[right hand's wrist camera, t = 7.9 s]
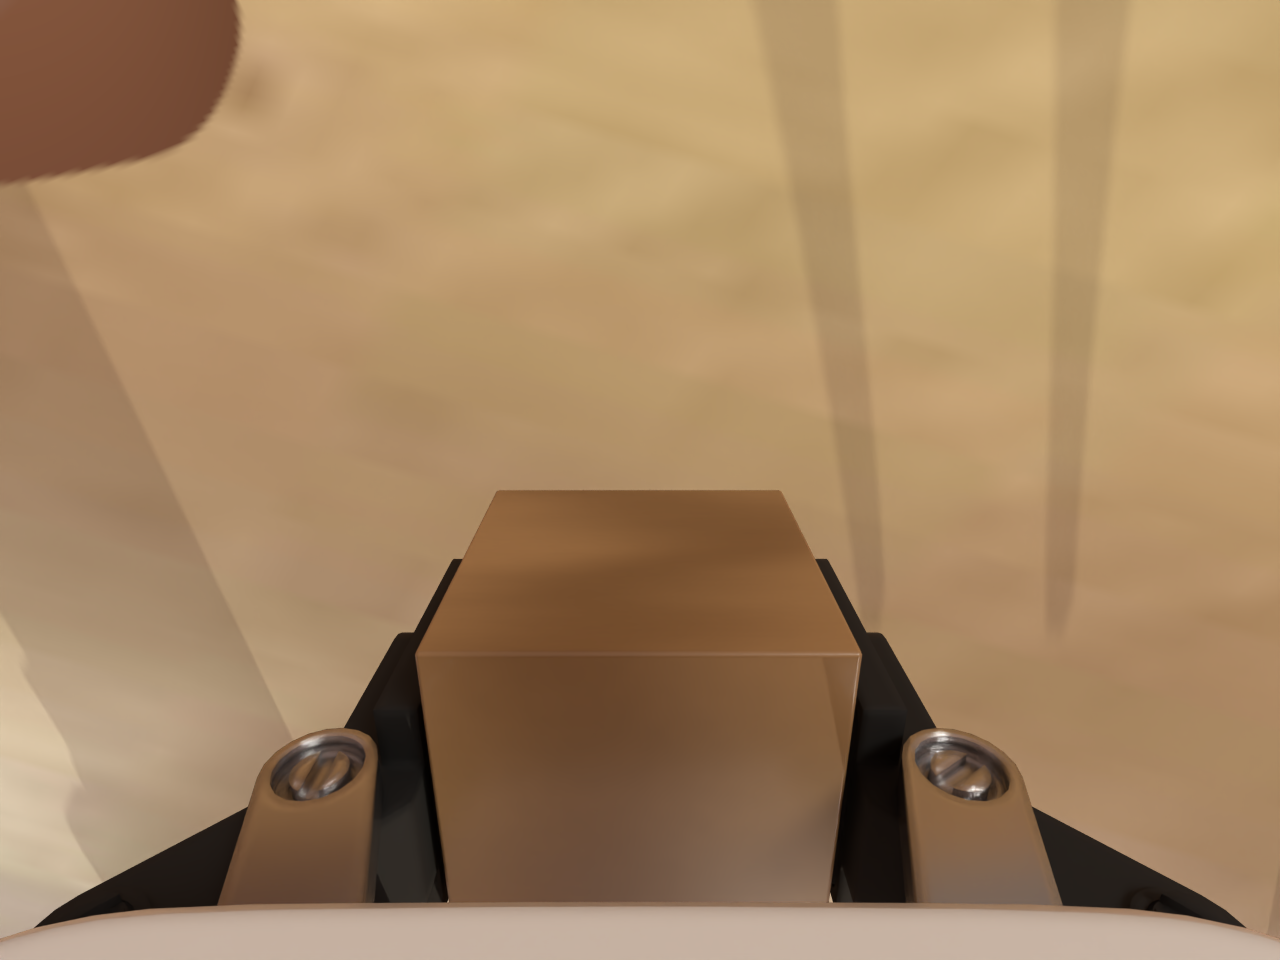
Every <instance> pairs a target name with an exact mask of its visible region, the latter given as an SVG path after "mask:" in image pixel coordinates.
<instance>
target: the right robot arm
mask: <svg viewBox="0 0 1280 960" xmlns="http://www.w3.org/2000/svg"><path fill="white" fill-rule="evenodd" d="M462 560H463V559H453V560H452V562H451V564H450V566H449V567H448V569H447V571H446V573H445V575H444V577H443V579H442V581H441V582H440V584H439V586H438V588H437V590H436V592H435V594H434V596H433V598H432V599H431V601H430V603H429V605H428V607H427V609H426V611H425V613H424V615H423V616H422V618H421V620H420V622H419V624H418V626H417V628H416V630H415V631H414V633H400V634H398V635H397V636H396V638H395V639H394V641H393V642H392V644H391V646H390V648H389V649H388V651H387V653H386V655H385V657H384V658H383V660H382V662H381V664H380V665H379V667H378V669H377V671H376V672H375V674H374V676H373V678H372V679H371V681H370V683H369V685H368V686H367V688H366V690H365V692H364V693H363V695H362V697H361V699H360V701H359V702H358V704H357V706H356V708H355V709H354V711H353V713H352V715H351V716H350V718H349V720H348V722H347V723H346V725H345V727H344V728H336V729H325V730H322V731H318V732H314V733H310V734H307V735H305V736H303V737H301V738H298V739H296V740H294V741H292V742H290V743H289V744H287V745H286V746H284V747H283V748H281V749H280V750H278V751H277V752H276V753H275V754H274V755H273V756H272V757H271V758H270V759H269V760H268V761H267V762H266V763H265V764H264V766H263V768H262V769H261V771H260V773H259V775H258V777H257V780H256V783H255V786H254V789H253V793H252V796H251V799H250V802H249V805H248V807H247V808H245V809H243V810H241V811H239V812H237V813H235V814H233V815H231V816H229V817H228V818H226V819H224V820H222V821H220V822H218V823H216V824H214V825H212V826H210V827H208V828H207V829H205V830H203V831H201V832H199V833H197V834H195V835H193V836H191V837H189V838H187V839H186V840H184V841H182V842H180V843H178V844H176V845H174V846H172V847H170V848H168V849H166V850H164V851H163V852H161V853H159V854H157V855H155V856H153V857H151V858H149V859H147V860H145V861H143V862H142V863H140V864H138V865H136V866H134V867H132V868H130V869H128V870H126V871H124V872H122V873H120V874H119V875H117V876H115V877H113V878H111V879H109V880H107V881H105V882H103V883H101V884H99V885H98V886H96V887H94V888H92V889H90V890H88V891H86V892H84V893H82V894H80V895H78V896H77V897H75V898H74V899H72V900H70V901H69V902H67V903H66V904H64V905H62V906H61V907H59V908H58V909H56V910H54V911H53V912H52V913H51V914H50V915H49V916H47V917H46V918H45V919H44V920H43V921H42V922H40V923H39V924H38V925H37V926H36V927H34V928H33V929H30V930H27V931H24V932H20V933H17V934H14V935H11V936H8V937H4V938H1V939H0V960H1280V939H1279V938H1276V937H1272V936H1269V935H1266V934H1263V933H1260V932H1256V931H1253V930H1250V929H1247V928H1246V927H1245V926H1244V925H1242V924H1241V923H1240V922H1239V921H1238V920H1236V919H1235V918H1234V917H1233V916H1232V915H1231V914H1229V913H1228V912H1227V911H1226V910H1224V909H1223V908H1221V907H1220V906H1218V905H1216V904H1215V903H1213V902H1211V901H1210V900H1208V899H1207V898H1205V897H1203V896H1202V895H1200V894H1198V893H1196V892H1194V891H1192V890H1190V889H1188V888H1187V887H1185V886H1183V885H1181V884H1179V883H1177V882H1175V881H1173V880H1171V879H1169V878H1167V877H1166V876H1164V875H1162V874H1160V873H1158V872H1156V871H1154V870H1152V869H1150V868H1148V867H1146V866H1144V865H1143V864H1141V863H1139V862H1137V861H1135V860H1133V859H1131V858H1129V857H1127V856H1125V855H1123V854H1122V853H1120V852H1118V851H1116V850H1114V849H1112V848H1110V847H1108V846H1106V845H1104V844H1102V843H1101V842H1099V841H1097V840H1095V839H1093V838H1091V837H1089V836H1087V835H1085V834H1083V833H1081V832H1080V831H1078V830H1076V829H1074V828H1072V827H1070V826H1068V825H1066V824H1064V823H1062V822H1060V821H1058V820H1057V819H1055V818H1053V817H1051V816H1049V815H1047V814H1045V813H1043V812H1041V811H1039V810H1037V809H1036V808H1034V807H1032V805H1031V802H1030V799H1029V796H1028V793H1027V789H1026V786H1025V783H1024V780H1023V777H1022V775H1021V773H1020V771H1019V769H1018V768H1017V766H1016V764H1015V763H1014V762H1013V761H1012V760H1011V759H1010V758H1009V757H1008V756H1007V755H1006V754H1005V753H1004V752H1003V751H1002V750H1000V749H999V748H997V747H996V746H994V745H993V744H991V743H990V742H988V741H986V740H984V739H982V738H979V737H977V736H975V735H973V734H970V733H966V732H962V731H958V730H955V729H944V728H936V726H935V725H934V723H933V721H932V719H931V717H930V716H929V714H928V712H927V710H926V709H925V707H924V705H923V703H922V702H921V700H920V698H919V696H918V695H917V693H916V691H915V689H914V688H913V686H912V684H911V682H910V680H909V679H908V677H907V675H906V673H905V672H904V670H903V668H902V666H901V665H900V663H899V661H898V659H897V658H896V656H895V654H894V652H893V651H892V649H891V647H890V645H889V643H888V642H887V640H886V638H885V637H884V636H883V635H882V634H881V633H866V631H865V629H864V627H863V625H862V623H861V621H860V619H859V618H858V616H857V614H856V612H855V610H854V608H853V606H852V604H851V602H850V601H849V599H848V597H847V595H846V593H845V591H844V589H843V587H842V585H841V584H840V582H839V580H838V578H837V576H836V574H835V572H834V570H833V569H832V567H831V565H830V563H829V561H828V560H827V559H815V560H816V562H817V564H818V566H819V568H820V570H821V572H822V574H823V576H824V578H825V580H826V582H827V584H828V586H829V588H830V590H831V592H832V594H833V596H834V598H835V600H836V602H837V604H838V606H839V608H840V610H841V612H842V614H843V616H844V618H845V620H846V623H847V625H848V627H849V629H850V631H851V633H852V635H853V637H854V639H855V641H856V643H857V645H858V647H859V649H860V651H861V653H862V659H861V667H860V674H859V682H858V689H857V696H856V704H855V711H854V719H853V726H852V733H851V741H850V748H849V756H848V763H847V770H846V778H845V785H844V793H843V800H842V807H841V815H840V822H839V830H838V837H837V844H836V852H835V859H834V867H833V874H832V881H831V889H830V893H831V896H832V900H833V903H817V902H463V903H447V901H448V892H447V885H446V877H445V870H444V863H443V855H442V848H441V841H440V834H439V826H438V819H437V812H436V804H435V797H434V790H433V782H432V775H431V768H430V760H429V753H428V746H427V739H426V731H425V724H424V717H423V709H422V702H421V695H420V687H419V680H418V673H417V665H416V658H415V654H416V651H417V649H418V647H419V645H420V643H421V641H422V639H423V637H424V635H425V633H426V631H427V629H428V627H429V625H430V623H431V621H432V619H433V617H434V615H435V613H436V611H437V609H438V607H439V605H440V603H441V601H442V599H443V597H444V595H445V593H446V591H447V589H448V587H449V585H450V583H451V581H452V579H453V578H454V576H455V574H456V572H457V570H458V568H459V566H460V564H461V562H462Z"/></svg>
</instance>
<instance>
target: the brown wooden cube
mask: <svg viewBox="0 0 1280 960" xmlns="http://www.w3.org/2000/svg"><path fill="white" fill-rule="evenodd" d="M415 658H416V665H417V673H418V680H419V687H420V695H421V702H422V709H423V717H424V724H425V731H426V739H427V746H428V753H429V760H430V768H431V775H432V782H433V790H434V797H435V804H436V812H437V819H438V826H439V834H440V841H441V848H442V855H443V863H444V870H445V877H446V885H447V892H448V899H449V903H463V902H817V903H829V896H830V889H831V881H832V874H833V867H834V859H835V852H836V844H837V837H838V830H839V822H840V815H841V807H842V800H843V793H844V785H845V778H846V770H847V763H848V756H849V748H850V741H851V733H852V726H853V719H854V711H855V704H856V696H857V689H858V682H859V674H860V667H861V659H862V653H861V651H860V649H859V647H858V645H857V643H856V641H855V639H854V637H853V635H852V633H851V631H850V629H849V627H848V625H847V623H846V620H845V618H844V616H843V614H842V612H841V610H840V608H839V606H838V604H837V602H836V600H835V598H834V596H833V594H832V592H831V590H830V588H829V586H828V584H827V582H826V580H825V578H824V576H823V574H822V572H821V570H820V568H819V566H818V564H817V562H816V560H815V558H814V556H813V554H812V552H811V550H810V548H809V546H808V544H807V542H806V540H805V538H804V536H803V534H802V532H801V530H800V528H799V526H798V524H797V522H796V520H795V518H794V516H793V514H792V512H791V510H790V508H789V506H788V504H787V502H786V500H785V498H784V496H783V494H782V492H781V491H779V490H499V491H497V492H496V494H495V496H494V498H493V500H492V502H491V504H490V506H489V508H488V510H487V512H486V514H485V516H484V518H483V520H482V522H481V524H480V526H479V528H478V530H477V532H476V534H475V536H474V538H473V540H472V542H471V544H470V546H469V548H468V550H467V552H466V554H465V556H464V558H463V560H462V562H461V564H460V566H459V568H458V570H457V572H456V574H455V576H454V578H453V579H452V581H451V583H450V585H449V587H448V589H447V591H446V593H445V595H444V597H443V599H442V601H441V603H440V605H439V607H438V609H437V611H436V613H435V615H434V617H433V619H432V621H431V623H430V625H429V627H428V629H427V631H426V633H425V635H424V637H423V639H422V641H421V643H420V645H419V647H418V649H417V651H416V654H415Z"/></svg>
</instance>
